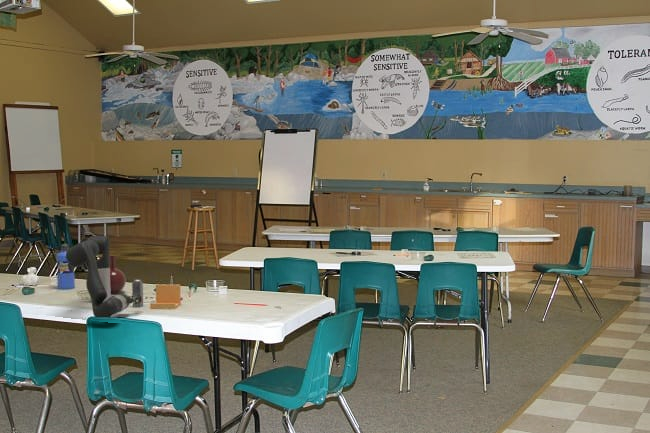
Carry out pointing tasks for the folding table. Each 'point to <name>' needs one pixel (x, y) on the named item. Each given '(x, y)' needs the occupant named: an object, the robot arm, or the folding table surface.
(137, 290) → the link block
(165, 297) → the keeper bracket
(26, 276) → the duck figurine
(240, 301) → the folding table surface
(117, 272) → the round-bottom flask
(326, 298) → the folding table surface
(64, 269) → the water bottle
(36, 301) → the folding table surface
